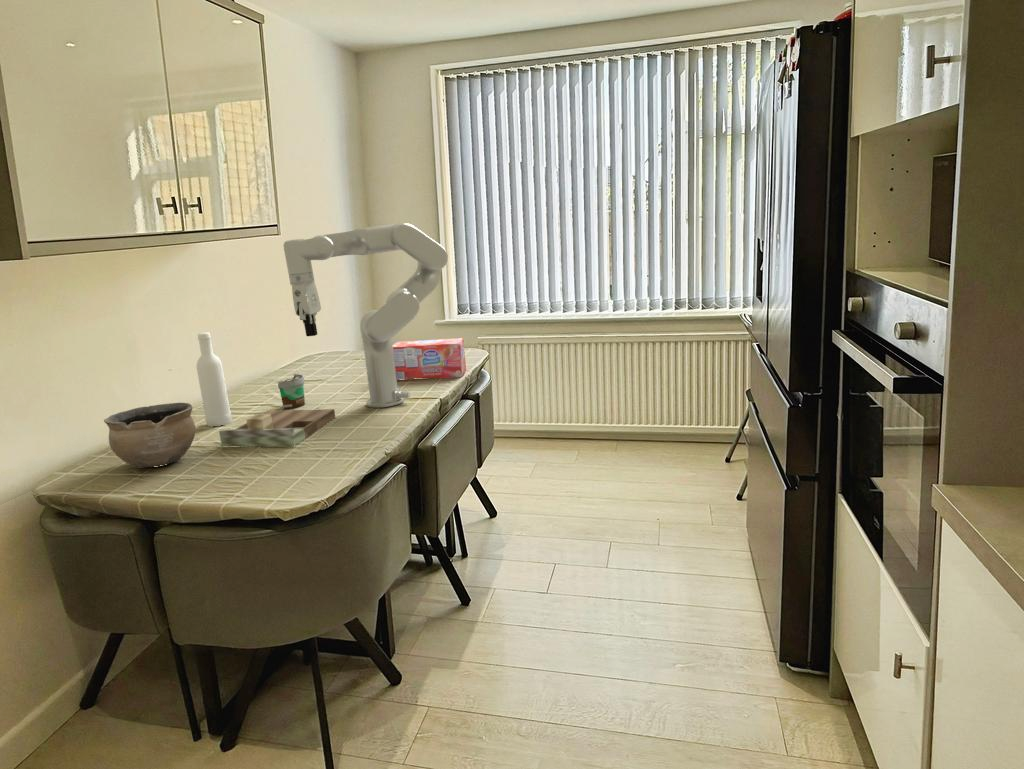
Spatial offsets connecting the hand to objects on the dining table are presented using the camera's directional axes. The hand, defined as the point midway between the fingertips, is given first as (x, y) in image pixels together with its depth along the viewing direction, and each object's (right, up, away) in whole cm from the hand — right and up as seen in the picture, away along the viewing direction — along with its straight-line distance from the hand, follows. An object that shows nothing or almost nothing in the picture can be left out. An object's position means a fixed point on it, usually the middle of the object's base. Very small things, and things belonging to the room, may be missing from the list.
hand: (312, 335), depth 243 cm
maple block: (-9, -30, -24) cm, 39 cm away
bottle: (-31, -29, +3) cm, 43 cm away
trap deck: (-6, -30, -13) cm, 34 cm away
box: (+33, -13, +49) cm, 61 cm away
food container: (-10, -23, +19) cm, 31 cm away
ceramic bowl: (-34, -38, -34) cm, 61 cm away
